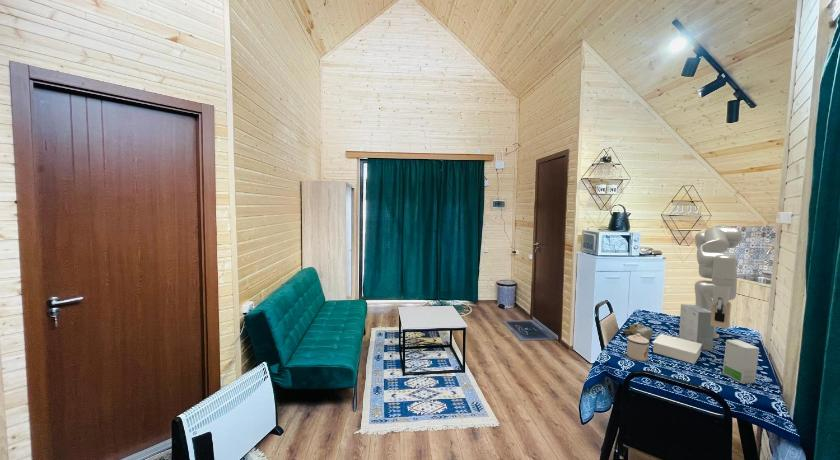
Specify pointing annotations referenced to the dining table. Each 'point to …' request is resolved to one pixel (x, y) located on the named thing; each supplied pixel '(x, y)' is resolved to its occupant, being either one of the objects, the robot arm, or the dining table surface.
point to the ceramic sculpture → (639, 331)
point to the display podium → (677, 348)
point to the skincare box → (740, 361)
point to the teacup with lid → (637, 347)
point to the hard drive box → (696, 326)
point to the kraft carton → (726, 319)
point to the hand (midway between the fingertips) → (720, 319)
